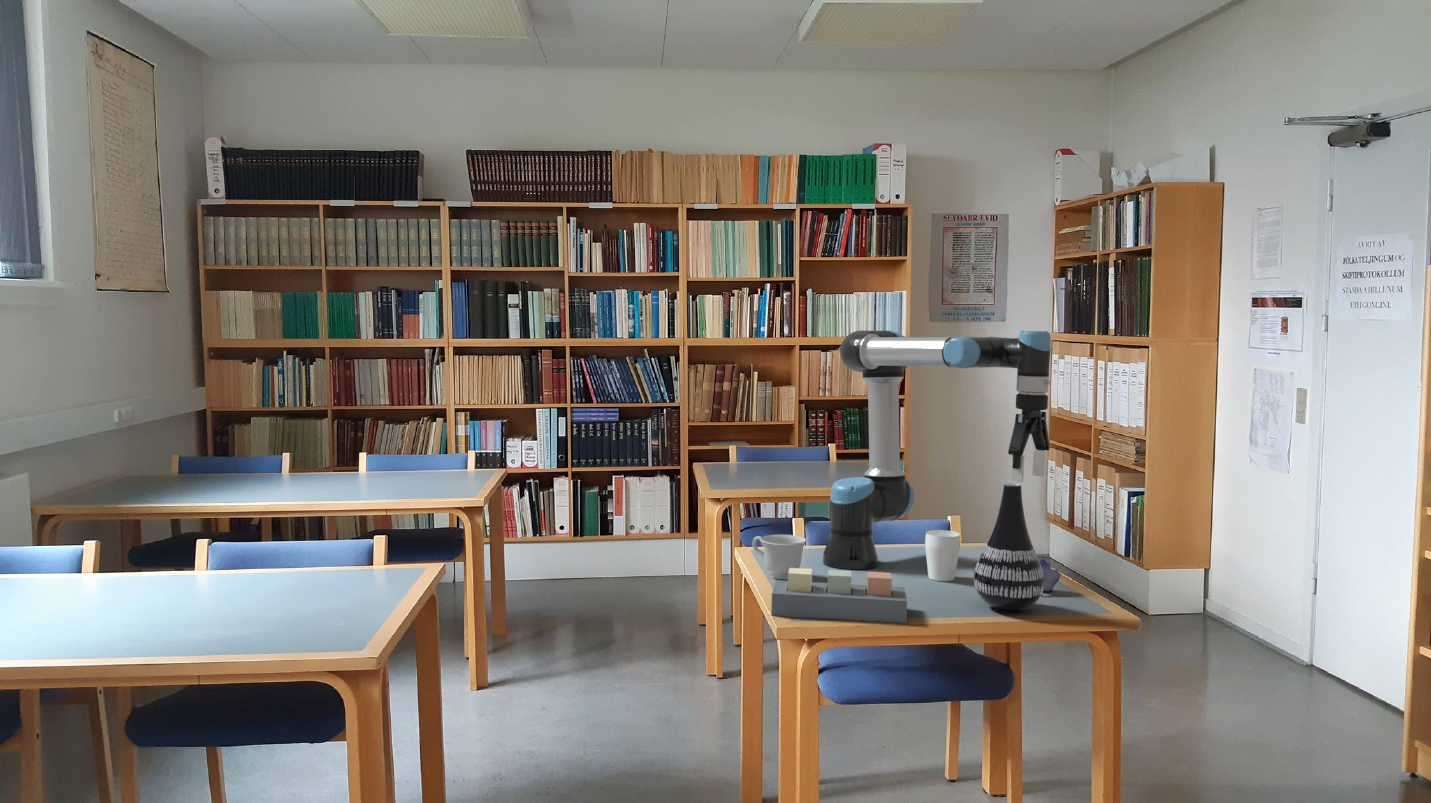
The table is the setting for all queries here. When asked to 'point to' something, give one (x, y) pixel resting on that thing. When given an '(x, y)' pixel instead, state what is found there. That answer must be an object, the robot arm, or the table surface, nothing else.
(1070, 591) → the table surface
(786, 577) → the teacup
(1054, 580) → the flower
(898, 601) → the panel
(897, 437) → the robot arm
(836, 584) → the button sage
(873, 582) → the button terracotta
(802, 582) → the button cream
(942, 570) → the cup
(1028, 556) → the vase
